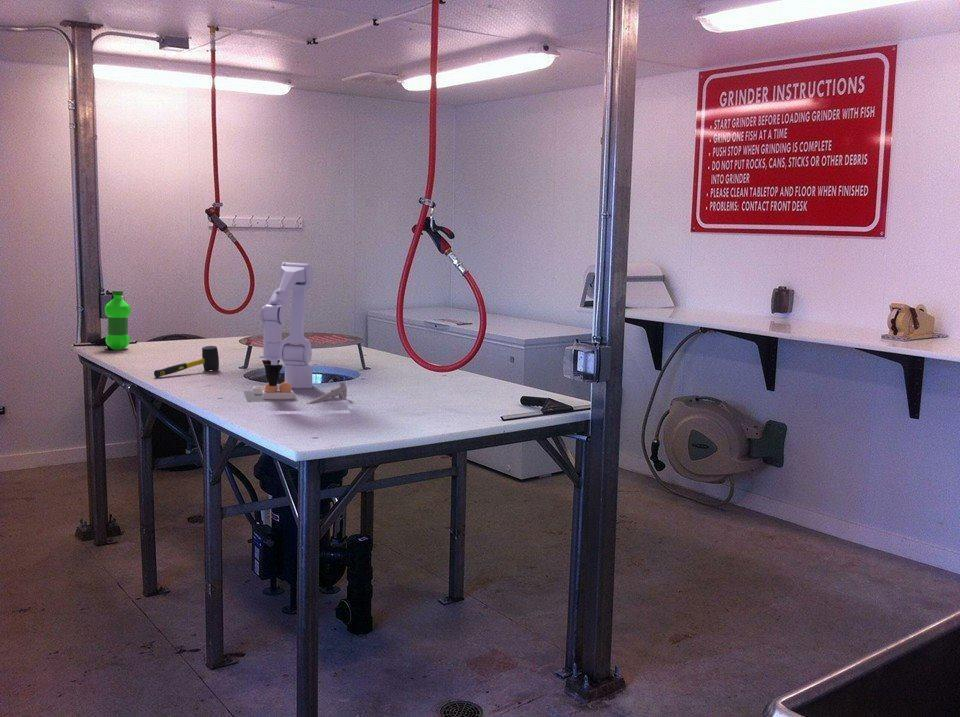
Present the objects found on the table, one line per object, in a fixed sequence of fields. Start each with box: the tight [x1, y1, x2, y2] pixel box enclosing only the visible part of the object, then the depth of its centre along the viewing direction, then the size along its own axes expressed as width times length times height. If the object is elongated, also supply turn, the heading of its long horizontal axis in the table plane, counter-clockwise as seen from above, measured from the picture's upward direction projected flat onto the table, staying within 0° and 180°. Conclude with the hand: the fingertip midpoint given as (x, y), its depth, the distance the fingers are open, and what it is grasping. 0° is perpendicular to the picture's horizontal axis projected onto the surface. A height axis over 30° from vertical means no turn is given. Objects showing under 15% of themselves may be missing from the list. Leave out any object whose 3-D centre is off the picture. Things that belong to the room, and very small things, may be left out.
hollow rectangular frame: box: [262, 389, 295, 399], centre depth 286 cm, size 10×4×2 cm, turn 108°
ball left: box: [278, 381, 293, 393], centre depth 287 cm, size 4×4×4 cm
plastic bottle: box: [104, 290, 132, 351], centre depth 379 cm, size 10×10×25 cm
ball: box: [264, 382, 279, 393], centre depth 285 cm, size 4×4×4 cm
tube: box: [252, 385, 266, 394], centre depth 292 cm, size 4×4×2 cm
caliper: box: [306, 381, 348, 405], centre depth 287 cm, size 20×1×6 cm, turn 151°
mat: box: [243, 390, 299, 403], centre depth 289 cm, size 16×18×1 cm
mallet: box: [153, 345, 220, 379], centre depth 327 cm, size 29×6×10 cm, turn 150°
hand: (271, 383), depth 285 cm, fingers open, 7 cm apart
